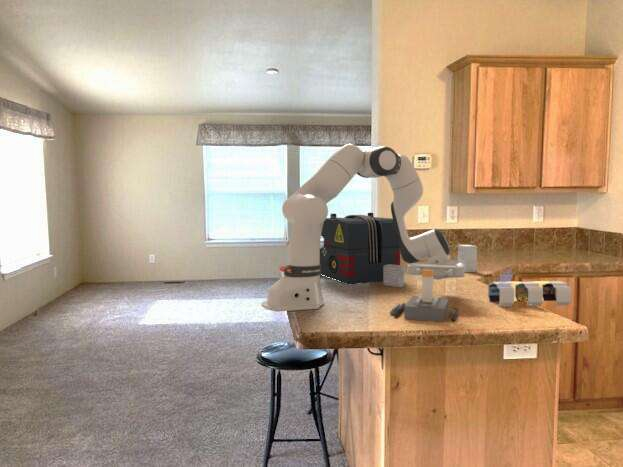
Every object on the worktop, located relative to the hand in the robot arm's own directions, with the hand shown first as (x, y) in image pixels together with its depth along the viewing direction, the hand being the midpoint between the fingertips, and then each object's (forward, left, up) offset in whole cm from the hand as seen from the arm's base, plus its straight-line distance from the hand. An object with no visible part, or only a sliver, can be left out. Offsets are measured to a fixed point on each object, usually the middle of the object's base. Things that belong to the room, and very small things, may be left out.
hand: (433, 273), depth 169 cm
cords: (-10, -7, -11) cm, 17 cm away
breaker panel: (-9, -8, -12) cm, 17 cm away
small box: (+68, +50, -12) cm, 85 cm away
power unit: (+10, +61, -12) cm, 63 cm away
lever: (-9, -8, -7) cm, 14 cm away
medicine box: (+12, +37, -12) cm, 41 cm away
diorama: (+33, -13, -12) cm, 37 cm away
